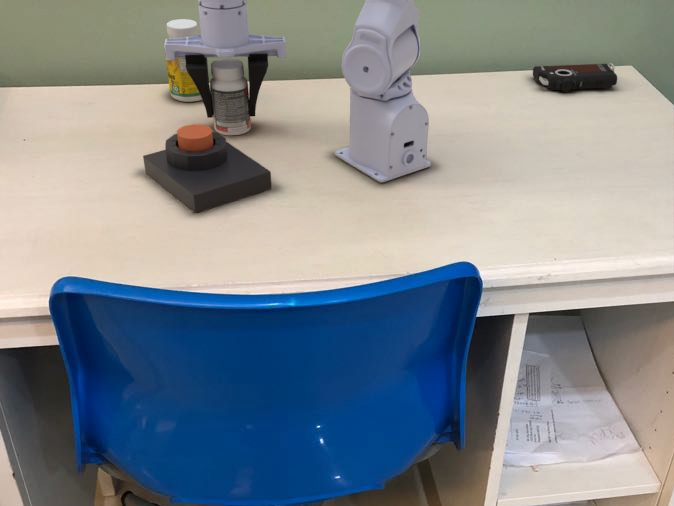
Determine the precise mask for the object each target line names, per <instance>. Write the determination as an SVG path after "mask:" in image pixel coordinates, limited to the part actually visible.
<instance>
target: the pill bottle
mask: <svg viewBox="0 0 674 506" xmlns="http://www.w3.org/2000/svg"><path fill="white" fill-rule="evenodd" d="M210 74H211V76H212V78H211V79H210V80H209V86H210V92H211V99H212V109H213V118H212V119H213V120H212V121H213V128H214V131H215V132H216V133H219V134H220V135H222V136H223V135H224V136H240V135H243V134H246V133H247V132H248V133H249V131H250V130H251V127H252V123H251V121H252V120H251V117H250V111H249V81H248V79H247V78H246V76H245V68H244V62H243V61H241V60H240V59H237V58H232V57H224V58H219V59H218V58H217V59H215V60H213V61H212V62H211V63H210Z"/></svg>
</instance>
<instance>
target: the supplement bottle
mask: <svg viewBox="0 0 674 506" xmlns="http://www.w3.org/2000/svg"><path fill="white" fill-rule="evenodd" d="M166 31H167V32H166V33H167V35H168V37H169V38H167V39H173V38H183V37H190V36H198V35H199V28H198V22H197V21H195V20H192V19H188V18H178V19H173V20H169V21H168V22H167V23H166ZM163 46H164V47H163V48H164V49H163V50H164V56H165V58H166V52H165V44H164V45H163ZM165 65H166V73H167V79H168V89H169V94H170V96H171V98H173V99H174V100H176V101H178V102H184V103H193V102H199V101H203V100H202V98H201V95H200V93H199V91H198V89H197V87H196V85H195V83H194V82H193V80H192V78H191V77H190V75H189V74H188V72H187V70H186V60H185V58H176V59H175V60H166V59H165Z"/></svg>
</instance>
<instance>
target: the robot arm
mask: <svg viewBox="0 0 674 506" xmlns="http://www.w3.org/2000/svg"><path fill="white" fill-rule="evenodd" d="M197 8H198V18H199V29H200V34H198V35H197V36H190V37H183V38H173V39H168V38H165V39H164V45H165V50H164V53H165V52H166V57H165V61H166V60H175V59H176V58H185V60H186V70H187V72H188V74H189V75H190V77H191V78H192V80H193V82H194V83H195V85H196V87H197V89H198V91H199V93H200V95H201V98H202V100H201V101H202V103H203V106H204V109H205V113H206V116H207V118H209V119H211V118H212V119H213V109H212V99H211V90H210V79H209V66H208V65H209V63H208V58H247V69H248V70H247V71H248V92H249V111H250V118H251V117H252V118H254V117H256V109H257V101H258V98H259V93H260V89H261V86H262V84H263V81H264V78H265V77H266V74H267V72H268V69H269V57H276V58H277V59H286V58H287V49H286V47H287V45H286V44H287V43H286V37H285V36H272V35H271V36H270V35H260V34H252V33H251V34H249V21H248V2H247V0H197ZM419 20H420V11H419V10H418V8H417V6H416V4H415V0H365V2H364V4H363V6H362V8H361V10H360V13H359V14H358V17H357V19H356V21H355V22H354V23H355V24H354V28H353V34H352V37H351V40H350V42H349V44H348V45H347V46H346V48H345V49H344V50H343V53H342V56H341V63H340V65H341V72H342V75H343V78H344V80H345V82H346V83H347V85H348V86H349V87H350V88H349V146H346V147H342V148H339V149H336V150H335V151H334V156H336V157H337V158H338V159H340V160H342V161H344V162H346V163H347V164H348V165H350V166H351V167H353V168H355V169H357V170H359V171H361V172H362V173H364V174H365V175H367V176H369V177H370V178H372V179H373V180H375V181H376V182H378V183H385V182H388V181H390V180H391V181H392V180H394V179H398V178H400V177H403V176H406V175H409V174H412V173H415V172H418V171H420V170H423V169H426V168H429V167H431V166H432V162H431V161H430V160H428V159H427V153H428V152H427V151H428V138H429V123H430V118H429V114H428V113H429V112H428V111H427V108H426V107H425V106H424V105H422V103H420V102H419V101H418V100H417V98H416V96H415V95H414V92H413V91H414V90H413V79H412V75H411V69H412V68H413V67H414V66H415V65H416V64H417V62H418V61H419V59H420V56H421V53H422V52H421V51H422V43H421V42H422V41H421V38H420V37H421V36H420V34H419V33H420V32H419Z"/></svg>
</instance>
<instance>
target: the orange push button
mask: <svg viewBox="0 0 674 506" xmlns="http://www.w3.org/2000/svg"><path fill="white" fill-rule="evenodd" d="M212 132H213V129H212V128H211V127H210V126H208V125H205V124H198V123H197V124H194V123H193V124H186V125H184V126H181V127H179V128H178V129H177V132H176V134H177V137H178V145H179V148H180V149H182V150H187V151H202V150H206V149H209V148H211V147H213V145H214V144H213V134H212Z"/></svg>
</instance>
